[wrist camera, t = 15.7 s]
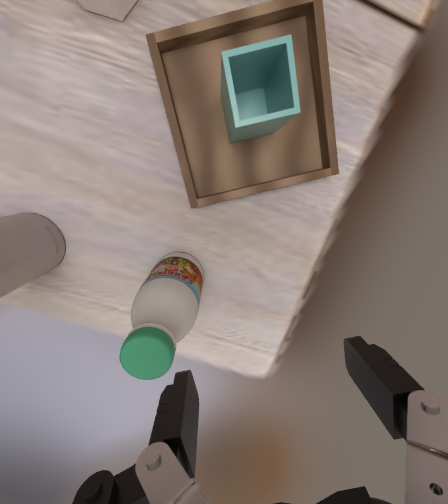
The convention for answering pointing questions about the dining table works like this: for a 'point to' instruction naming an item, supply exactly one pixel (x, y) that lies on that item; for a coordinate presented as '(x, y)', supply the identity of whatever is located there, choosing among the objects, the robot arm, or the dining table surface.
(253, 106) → the teal square vase
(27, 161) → the dining table surface
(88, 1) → the jar
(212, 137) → the wooden tray
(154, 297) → the yogurt drink bottle
